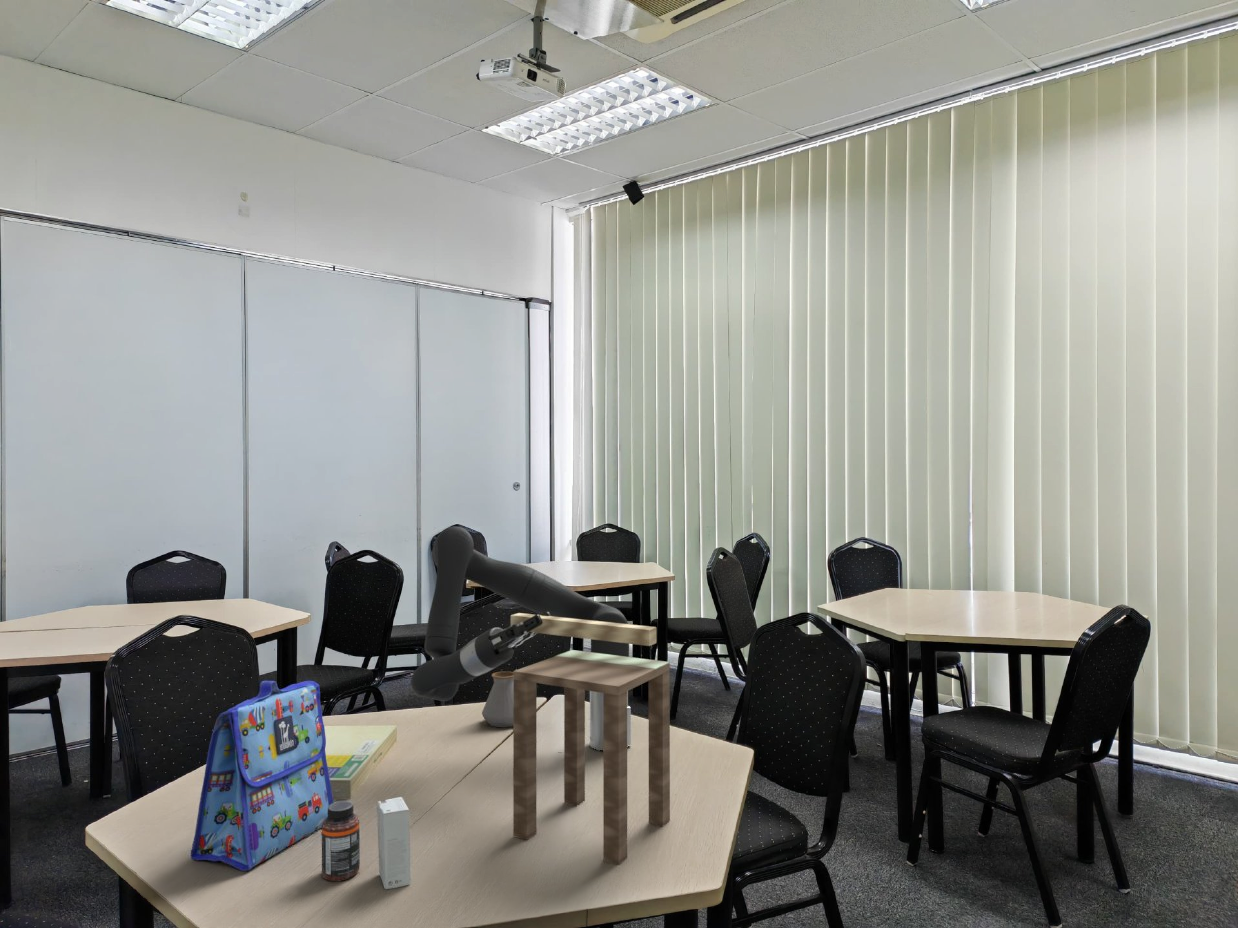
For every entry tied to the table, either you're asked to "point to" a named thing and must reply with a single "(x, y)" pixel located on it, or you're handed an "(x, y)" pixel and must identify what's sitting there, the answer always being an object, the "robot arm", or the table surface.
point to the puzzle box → (355, 755)
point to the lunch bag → (264, 777)
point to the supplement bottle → (340, 842)
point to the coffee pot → (500, 700)
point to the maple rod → (591, 629)
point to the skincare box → (394, 843)
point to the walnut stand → (576, 677)
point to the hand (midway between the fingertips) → (544, 617)
